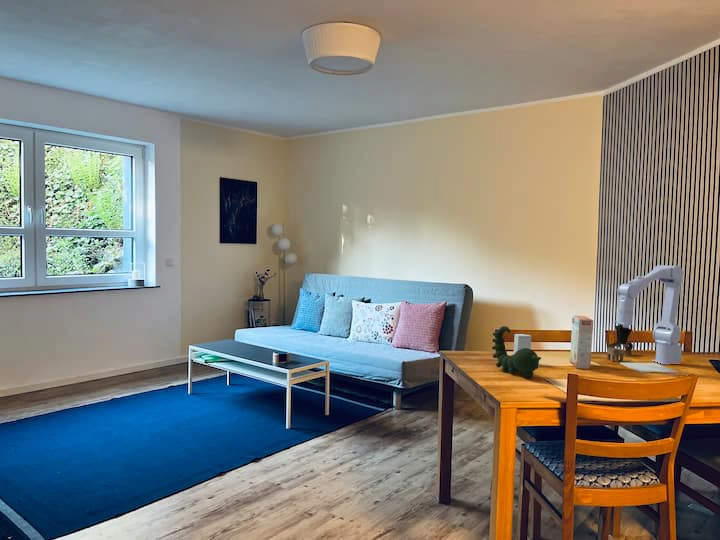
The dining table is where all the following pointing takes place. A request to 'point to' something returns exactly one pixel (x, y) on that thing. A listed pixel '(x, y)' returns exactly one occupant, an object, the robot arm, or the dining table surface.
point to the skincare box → (522, 342)
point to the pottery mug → (627, 347)
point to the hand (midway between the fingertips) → (621, 343)
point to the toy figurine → (514, 356)
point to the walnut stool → (615, 354)
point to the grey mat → (648, 367)
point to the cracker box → (581, 342)
